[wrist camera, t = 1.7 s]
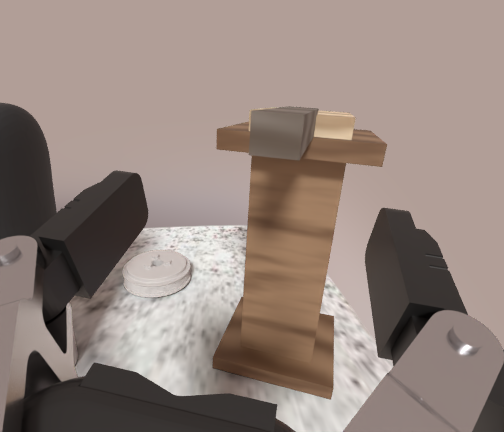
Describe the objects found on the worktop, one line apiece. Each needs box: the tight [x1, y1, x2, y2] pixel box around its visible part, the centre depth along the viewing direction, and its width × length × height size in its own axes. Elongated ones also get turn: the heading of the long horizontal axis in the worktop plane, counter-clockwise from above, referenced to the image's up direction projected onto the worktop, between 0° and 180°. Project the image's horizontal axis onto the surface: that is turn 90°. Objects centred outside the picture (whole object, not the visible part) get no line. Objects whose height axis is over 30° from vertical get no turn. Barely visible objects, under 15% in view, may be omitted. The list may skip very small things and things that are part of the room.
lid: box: [122, 250, 191, 297], centre depth 60 cm, size 13×13×5 cm
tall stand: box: [213, 122, 387, 399], centre depth 41 cm, size 14×16×32 cm
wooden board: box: [249, 107, 355, 160], centre depth 29 cm, size 26×10×2 cm, turn 166°
